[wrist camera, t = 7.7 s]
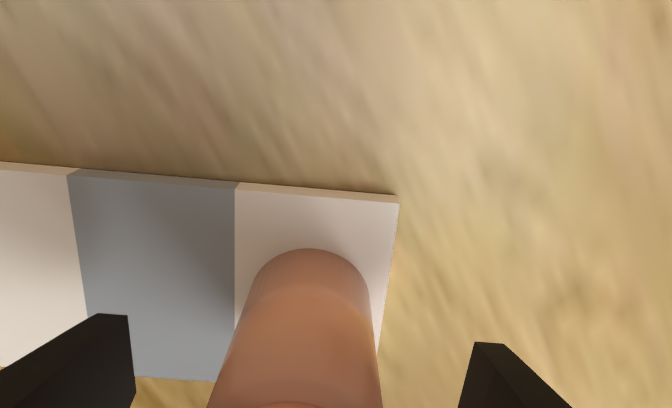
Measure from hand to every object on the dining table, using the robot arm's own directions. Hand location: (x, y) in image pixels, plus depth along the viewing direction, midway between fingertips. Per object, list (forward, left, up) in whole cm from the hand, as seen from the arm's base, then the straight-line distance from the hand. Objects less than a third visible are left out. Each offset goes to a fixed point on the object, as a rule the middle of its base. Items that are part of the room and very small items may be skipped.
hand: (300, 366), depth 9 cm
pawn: (0, 0, -3) cm, 3 cm away
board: (+8, 0, -3) cm, 9 cm away
